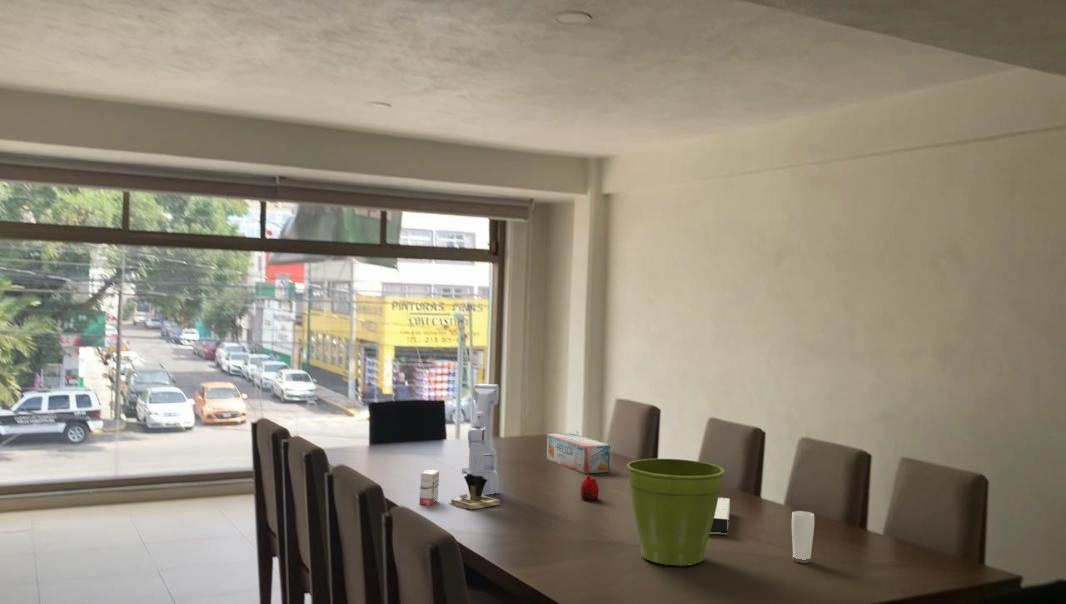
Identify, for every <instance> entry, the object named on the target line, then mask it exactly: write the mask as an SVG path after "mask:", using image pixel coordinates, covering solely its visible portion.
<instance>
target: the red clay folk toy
mask: <svg viewBox="0 0 1066 604" xmlns="http://www.w3.org/2000/svg"><path fill="white" fill-rule="evenodd" d="M586 464H587V463H586ZM586 467H587V470H588V467H589V466H588V464H587V466H586ZM589 468H590V469H591V467H589ZM586 474H587V476H585V477H584V479H583V480H582V483H581V485H580V497H581V499H582V500H584V501H588V500H592V501H598V500H599V491H600V489H599V485H598V482H597V479H596V478H594V477H591V476H590V473H589V471H587V473H586Z"/></svg>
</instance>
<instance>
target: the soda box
mask: <svg viewBox="0 0 1066 604" xmlns="http://www.w3.org/2000/svg"><path fill="white" fill-rule="evenodd" d="M546 435H547V436H546V459H547V460H549V461H550V462H554V463H557V464H559V465H562V466H564V467H567V468H569V469H571V470H575V471H577V472H579V473H582V474H596V473H610V462H611V461H610V460H611V459H610V458H611V457H610V455H611V444H608V443H605V442H601V441H598V440H595V439H593V438H587V437H586V436H581V435H579V434H575V433H572V432H563V433H562V432H561V433H560V432H559V433H547V434H546ZM586 463H587V464H588V466H589V467H591V469H590V468H589V467H588V470H587V467H586V466H587V464H586ZM587 471H589V473H587Z"/></svg>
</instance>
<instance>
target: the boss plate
mask: <svg viewBox="0 0 1066 604" xmlns="http://www.w3.org/2000/svg"><path fill="white" fill-rule="evenodd" d="M467 497H468V494H467V493H460V494H459V498H462V501H464V502H465V498H467ZM449 503H451V501H449V502H448V504H449ZM453 506H456V505H455V504H454V505H453ZM456 507H459V506H458V505H457V506H456ZM463 509H466V508H465V507H464V508H463Z"/></svg>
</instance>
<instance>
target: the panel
mask: <svg viewBox="0 0 1066 604" xmlns="http://www.w3.org/2000/svg"><path fill="white" fill-rule="evenodd" d="M450 502H451V504H450V505H452V504H455V505H454V506H456V505H458V506H457V507H459V506H461V507H460V508H462V507H465V508H464V509H466V508H468V509H467V510H475V509H476V510H477V509H482V508H486V507H492V506H498V505H500V504H501V500H500V499H498V498H493V497H490V496H488V495H481V496H478V497H477V496H476V488H475V485H471V490H470V493H469V496H468V495H467V498H465V502H464V501H462V498H460V497H457V498H451V500H450Z"/></svg>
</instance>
